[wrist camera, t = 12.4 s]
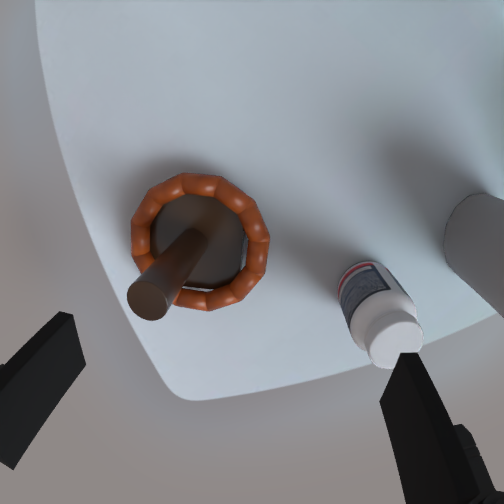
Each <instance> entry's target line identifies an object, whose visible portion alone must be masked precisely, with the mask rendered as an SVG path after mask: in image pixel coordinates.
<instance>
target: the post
mask: <svg viewBox="0 0 504 504" xmlns="http://www.w3.org/2000/svg"><path fill="white" fill-rule="evenodd" d="M243 238H244V229H243V226H242V224H241V222H240V220H239V217H238V215H237V214H236V213H235V212H233V211H232V210H231V209H229V208H228V207H227V206H225V205H224V204H222V203H221V202H220V201H218V200H217V199H216V198H214V197H209V196H201V195H191V194H185V195H183V196H180V197H178V198H176V199H174V200H172V201H170V202H168V203H166V204H164V205H163V206H162V207H161V209H160V210H159V212H158V214H157V215H156V217H155V218H154V220H153V222H152V223H151V225H150V252H151V254H152V256H153V257H154V259H155V261H154V262H153V263H152V264H151V265H150V266H149V267H148V268H147V269H146V270H145V271H144V272H143V273H142V274H141V275H140V276H139V277H138V278H137V279H136V280H135V281H134V283H133V284H132V285H131V286H130V287H129V289H128V292H127V301H128V304H129V306H130V308H131V309H132V311H133V312H134V313H135V314H136V315H138V316H139V317H141V318H143V319H145V320H150V321H154V320H158V319H161V318H162V317H163V316H164V315H165V314H166V313H167V311H168V309H169V308H170V306H171V304H172V303H173V301H174V300H175V298H176V296H177V295H178V293H179V292H180V290H181V288H182V287H183V286H187V287H195V288H204V289H213V290H215V289H217V288H220V287H223V286H226V285H229V284H231V282H232V281H233V280H234V279H235V278H236V276H237V275H238V274H239V273H240V271H241V269H242V253H243Z"/></svg>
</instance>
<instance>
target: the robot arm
mask: <svg viewBox="0 0 504 504" xmlns="http://www.w3.org/2000/svg"><path fill="white" fill-rule="evenodd" d="M85 365H86V362H85V359H84V356H83V352H82V348H81V345H80V341H79V337H78V333H77V330H76V326H75V321H74V317H73V315H72V314H68V313H65V312H60V311H59V312H58V313H57V314H56V315H55V316H54V317H53V318H52V319H51V320H50V321H49V322H47V324H45V325H44V326H43V327H42V328H41V329H40V330H39V331H38V332H37V333H36V334H35V335H34V336H33V337H32V338H31V339H30V340H29V341H28V342H27V343H26V344H25V345H24V346H23V347H22V348H21V349H20V350H19V351H18V352H17V353H16V354H15V355H14V356H13V357H12V358H11V359H10V360H9V361H8V362H7V363H6V364H5V365H4V364H1V365H0V462H2V463H3V464H5V465H6V466H8V467H9V468H11V469H12V470H14V468H15V467H16V465H17V463H18V462H19V460H20V459H21V457H22V455H23V454H24V453H25V451H26V450H27V448H28V446H29V445H30V443H31V442H32V440H33V439H34V437H35V436H36V434H37V433H38V431H39V430H40V428H41V427H42V426H43V424H44V423H45V421H46V420H47V418H48V417H49V415H50V414H51V413H52V411H53V410H54V408H55V407H56V405H57V404H58V403H59V401H60V400H61V398H62V397H63V396H64V394H65V393H66V391H67V390H68V389H69V387H70V386H71V385H72V383H73V382H74V381H75V379H76V378H77V376H78V375H79V374H80V372H81V371H82V370H83V368H84V367H85ZM379 402H380V405H381V409H382V412H383V415H384V419H385V422H386V426H387V430H388V433H389V437H390V441H391V444H392V448H393V452H394V455H395V459H396V463H397V467H398V471H399V476H400V480H401V484H402V488H403V493H404V497H405V502H406V504H504V492H501V491H496V490H495V488H494V486H493V484H492V481H491V478H490V476H489V473H488V471H487V468H486V466H485V464H484V461H483V459H482V457H481V456H480V452H479V450H478V448H477V447H476V443H475V441H474V439H473V437H472V434H471V433H470V432H469V431H468V430H467V429H466V428H465V427H464V426H463V425H462V424H459V425H454V426H453V424H452V422H451V419H450V417H449V415H448V413H447V411H446V409H445V407H444V405H443V402H442V400H441V398H440V396H439V394H438V392H437V390H436V388H435V386H434V384H433V382H432V380H431V378H430V376H429V374H428V372H427V370H426V368H425V367H424V364H423V363H422V361H421V359H420V357H419V355H418V353H417V352H412V353H400V355H399V358H398V360H397V363H396V365H395V367H394V370H393V372H392V375H391V377H390V379H389V381H388V384H387V386H386V388H385V391H384V393H383V395H382V397H381V399H380V401H379Z"/></svg>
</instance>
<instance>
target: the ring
mask: <svg viewBox="0 0 504 504" xmlns="http://www.w3.org/2000/svg"><path fill="white" fill-rule="evenodd" d="M185 194H191V195H201V196H209V197H214V198H216V199H217V200H218V201H220V202H221V203H222V204H224V205H225V206H227V207H228V208H229V209H231V210H232V211H233V212H235V213H236V214H237V215H238V217H239V220H240V222H241V224H242V226H243V229H244V231H245V233H246V235H247V238H248V248H247V257H246V265H245V266H244V268H243V269H242V270H241V271H240V273H239V274H238V275H237V276H236V278H235V279H234V280H233V281H232V282H231V284H229V285H226V286H223V287H220V288H217V289H215V290H212V291H209V292H204V291H198V290H191V289H185V288H181V290H180V292H179V293H178V295H177V296H176V298H175V300H174V301H173V303H172V304H174V305H175V306H179V307H185V308H191V309H197V310H203V311H213V310H216V309H219V308H222V307H225V306H228V305H231V304H234V303H237V302H240V301H242V300H243V299H244V298H245V297H246V295H247V294H248V293H249V292H250V291H251V290H252V288H253V287H254V286H255V285H256V284H257V283H258V281H259V280H260V279H261V278H262V277H263V275H264V274H265V270H266V263H267V257H268V250H269V243H270V235H269V232H268V230H267V228H266V225H265V223H264V221H263V218H262V216H261V214H260V211H259V209H258V207H257V204H256V202H255V201H254V200H253V199H252V198H251V197H250V196H248V195H247V194H246V193H244V192H243V191H241V190H240V189H239V188H237V187H236V186H235V185H233V184H232V183H231V182H229V181H228V180H227V179H225V178H224V177H222V176H216V175H206V174H196V173H180V174H178V175H176V176H174V177H172V178H170V179H168V180H166V181H164V182H162V183H160V184H158V185H156V186H154V187H152V188H151V189H149V190H148V192H147V193H146V195H145V197H144V198H143V200H142V202H141V203H140V205H139V207H138V209H137V210H136V212H135V214H134V216H133V217H132V219H131V255H132V258H133V260H134V262H135V263H136V265H137V267H138V269H139V271H140V273H141V274H142V273H143V272H144V271H145V270H146V269H147V268H148V267H149V266H150V265H151V264H152V263H153V262H154V261H155V259H154V257H153V256H152V254H151V252H150V225H151V223H152V222H153V220H154V218H155V217H156V215H157V214H158V212H159V210H160V209H161V207H162V206H163V205H164V204H166V203H168V202H170V201H172V200H174V199H176V198H178V197H180V196H183V195H185Z"/></svg>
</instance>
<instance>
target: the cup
mask: <svg viewBox="0 0 504 504" xmlns="http://www.w3.org/2000/svg"><path fill="white" fill-rule="evenodd" d="M443 247H444V251H445V256H446V261H447V263H448V265H449V266H450V267H451V268H452V269H453V271H454V272H455V273H456V274H457V275H458V276H459V277H460V278H461V279H462V280H464V281H465V282H466V283H467V284H468V285H469V286H470V287H471V288H472V289H474V290H475V291H476V292H477V293H478V294H479V295H480V296H481V297H482V298H483V299H484V300H485V301H487V302H488V303H489V304H490V305H491V306H492V307H493V308H494V309H495V310H496V311H497V312H498V313H499V314H500V315H501V316H502V317H503V318H504V200H502V199H499V198H496V197H493V196H490V195H487V194H485V193H481V194H476V195H470V196H468V197H467V198H466V199H465V200H463V201H462V202H461V203H460V204H459V205H458V206H456V207H455V209H454V211H453V213H452V215H451V217H450V219H449V221H448V223H447V225H446V230H445V236H444V243H443Z"/></svg>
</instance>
